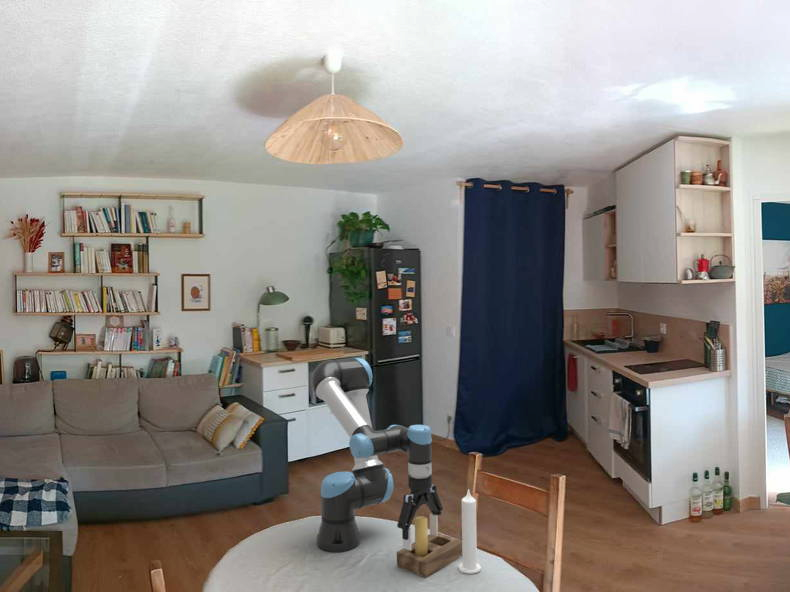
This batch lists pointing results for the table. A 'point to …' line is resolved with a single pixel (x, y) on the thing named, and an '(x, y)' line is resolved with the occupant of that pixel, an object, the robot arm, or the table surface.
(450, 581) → the table surface
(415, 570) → the socket block
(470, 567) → the candle
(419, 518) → the peg
